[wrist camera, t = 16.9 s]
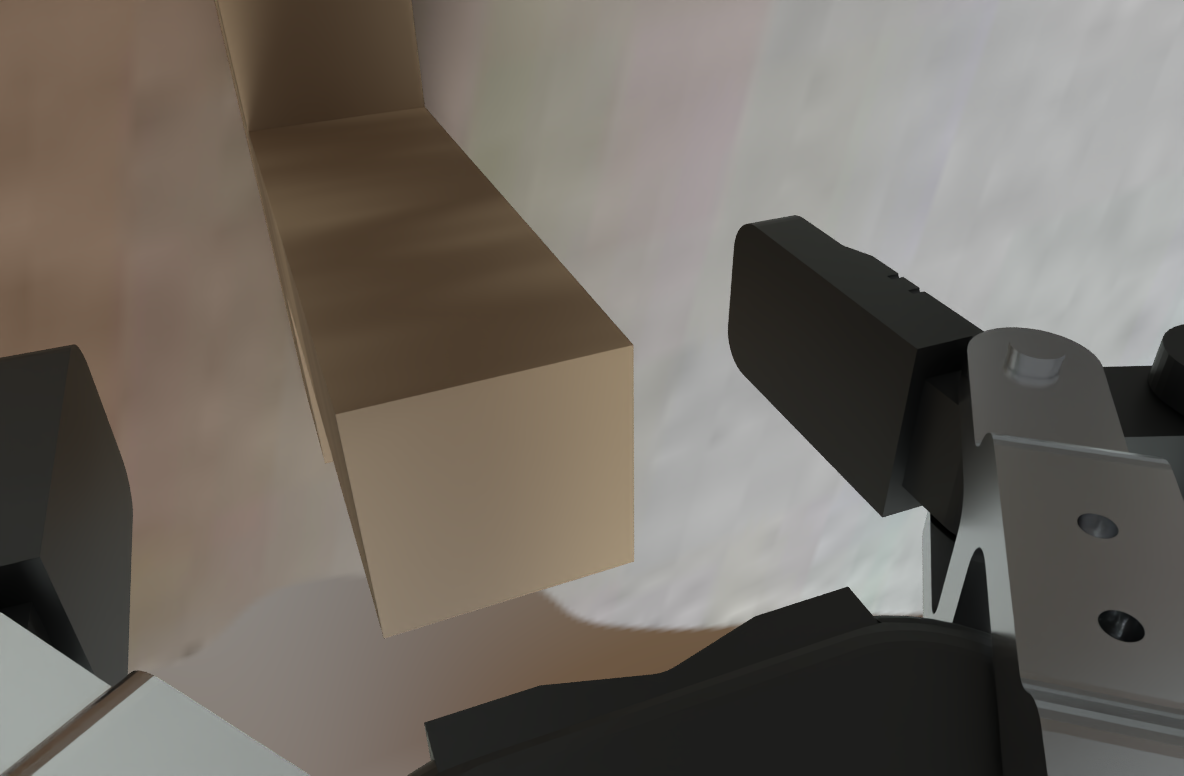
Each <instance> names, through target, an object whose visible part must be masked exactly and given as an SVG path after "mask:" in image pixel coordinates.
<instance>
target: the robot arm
mask: <svg viewBox="0 0 1184 776" xmlns="http://www.w3.org/2000/svg"><path fill="white" fill-rule="evenodd" d="M728 339H729V345H730V349H731V353H732V356H733V358H734V361H735V363H736V365H737V367H738V368H739V370H740V371H741V372H742V374H743V375H744V376H745V377H746V378H747V379H748V380H749V381H750V382H751V383H752V384H753V385H754V386H755V387H756V388H757V389H758V390H759V391H760V392H761V393H762V394H763V395H764V396H765V397H766V398H767V399H768V400H769V401H770V403H771V404H772V405H773V406H774V407H775V408H776V409H777V410H778V411H779V412H780V413H781V414H782V415H783V416H784V417H785V418H786V419H787V420H788V421H789V422H790V423H791V424H792V425H793V426H794V427H795V428H796V429H797V430H798V431H799V432H800V433H801V434H802V435H803V436H804V437H805V438H806V439H807V441H808V442H809V443H810V444H811V445H812V446H813V447H814V448H815V449H816V450H817V451H818V452H819V453H820V454H821V455H822V456H823V457H824V458H825V459H826V460H827V461H828V462H829V463H830V464H831V465H832V466H833V467H834V468H835V469H836V470H837V471H838V472H839V473H840V474H841V475H842V476H843V478H844V479H845V480H846V481H847V482H848V483H849V484H850V485H851V486H852V487H853V488H854V489H855V490H856V491H857V492H858V493H859V494H860V495H861V496H862V497H863V498H864V499H865V500H866V501H867V502H868V503H869V504H870V505H871V506H872V507H873V508H874V509H875V510H876V511H877V512H878V513H879V514H880V516H881V517H886V516H889V515H892V514H896V513H899V512H902V511H906V510H909V509H912V508H916V507H919V506H923V507H924V508H926V509H927V510H928V512H927V516H926V521H925V525H924V529H923V535H922V555H923V618H921V617H912V616H873V615H872V614H871V613H870V612H869V611H868V610H867V608H866V607H865V606H864V605H863V604H862V602H861V601H860V600H859V599H858V598H857V597H856V595H855V594H854V593H853V592H852V591H851V589H850V588H849V587H845V588H842V589H839V590H836V591H833V592H830V593H826V594H823V595H820V596H817V597H814V598H811V599H808V600H805V601H802V602H798V603H795V604H792V605H789V606H786V607H783V608H780V609H777V610H774V611H770V612H767V613H764V614H761V615H758V616H755V617H753V618H752V619H750V620H749V621H747V622H745V623H744V624H742V625H741V626H739V627H737V628H736V629H734V630H733V631H731V632H729V633H728V634H726V635H725V636H723V637H722V638H720V639H718V640H717V641H715V642H714V643H712V644H710V645H709V646H707V647H706V648H704V649H703V650H701V651H699V652H698V653H696V654H695V655H693V656H691V657H690V658H688V659H687V660H685V661H684V662H682V663H680V664H679V665H677V666H675V667H674V668H672V669H670V670H668V671H665V672H662V673H658V674H653V675H643V676H632V677H623V678H612V679H602V680H591V681H582V682H571V683H561V684H551V685H541V686H537V687H534V688H531V689H528V690H525V691H522V692H519V693H515V694H512V695H509V696H506V697H503V698H500V699H497V700H494V701H490V702H487V703H484V704H481V705H478V706H475V707H472V708H469V709H466V710H463V711H459V712H457V713H453V714H450V715H447V716H444V717H441V718H438V719H434V720H431V721H428V722H425V723H424V724H425V730H426V736H427V741H428V747H429V752H430V758H431V761H430V762H428V763H426V764H425V765H423V766H422V767H420V768H418V769H417V770H415V771H414V772H412V773H410V774H409V775H408V776H1184V324H1183V325H1179V326H1176V327H1174V328H1172V329H1169V330H1168V331H1167V332H1166V333H1165V334H1164V336H1163V339H1162V341H1161V344H1160V347H1159V349H1158V352H1157V355H1156V357H1155V360H1154V363H1153V365H1152V366H1123V367H1103V366H1102V364H1101V362H1100V361H1099V360H1098V358H1097V357H1096V356H1095V355H1094V354H1093V353H1092V352H1090V351H1089V350H1088V349H1086V348H1085V347H1083V346H1082V345H1080V344H1078V343H1076V342H1074V341H1072V340H1070V339H1067V338H1065V337H1062V336H1060V335H1056V334H1053V333H1050V332H1045V331H1041V330H1036V329H1029V328H1018V327H1006V328H996V329H992V330H987V331H985V332H984V331H982V330H981V329H979V328H978V327H976V326H975V325H974V324H972V323H971V322H969V321H968V320H966V319H965V318H963V317H962V316H960V315H959V314H957V313H956V312H954V311H953V310H951V309H950V308H948V307H947V306H945V305H944V304H942V303H941V302H940V301H938V300H937V299H935V298H934V297H932V296H931V295H929V294H928V293H926V292H920V291H919V287H917V286H916V285H914V284H913V283H911V282H910V281H908V280H907V279H906V278H904V277H902V278H899V276H898V273H897V272H895V271H894V270H892V269H891V268H889V267H888V266H886V265H885V264H883V263H882V262H880V261H879V260H877V259H876V258H874V257H873V256H871V255H868V254H865V253H862V252H859V251H857V250H854V249H851V248H848V247H845V246H843V245H841V244H840V243H838V242H837V241H835V240H834V239H833V238H831V237H830V236H828V235H827V234H825V233H824V232H822V231H821V230H820V229H818V228H817V227H815V226H814V225H812V224H811V223H809V222H808V221H806V220H805V219H804V218H802V217H800V216H796V215H794V216H788V217H783V218H777V219H771V220H766V221H760V222H755V223H749V224H745V225H743V226H742V227H741V228H740V229H739V231H738V233H737V235H736V239H735V244H734V255H733V269H732V282H731V295H730V308H729V322H728ZM132 521H133V508H132V498H131V492H130V486H129V481H128V477H127V473H126V469H125V466H124V463H123V460H122V457H121V454H120V451H119V449H118V446H117V443H116V440H115V438H114V435H113V432H112V430H111V427H110V424H109V421H108V419H107V416H106V413H105V411H104V408H103V405H102V402H101V400H100V397H99V394H98V392H97V389H96V386H95V384H94V381H93V378H92V375H91V373H90V370H89V367H88V365H87V362H86V360H85V358H84V356H83V354H82V352H81V350H80V349H79V347H78V346H76V345H69V346H63V347H58V348H52V349H46V350H41V351H35V352H30V353H24V354H19V355H13V356H8V357H2V358H0V776H310V775H309V774H307V773H306V772H304V771H302V770H301V769H299V768H298V767H296V766H295V765H293V764H292V763H290V762H289V761H287V760H285V759H284V758H282V757H281V756H279V755H278V754H276V753H275V752H273V751H271V750H270V749H268V748H267V747H265V746H264V745H262V744H261V743H259V742H257V741H256V740H254V739H253V738H251V737H250V736H248V735H246V734H245V733H243V732H242V731H240V730H239V729H237V728H236V727H234V726H232V725H231V724H229V723H228V722H226V721H225V720H223V719H222V718H220V717H219V716H217V715H215V714H214V713H212V712H211V711H209V710H207V709H206V708H205V707H203V706H201V705H200V704H198V703H197V702H195V701H194V700H192V699H190V698H189V697H187V696H186V695H184V694H183V693H181V692H179V691H178V690H176V689H175V688H173V687H172V686H170V685H169V684H167V683H166V682H164V681H162V680H161V679H159V678H157V677H156V676H154V675H151V674H149V673H147V672H143V671H133V672H131V673H129V674H128V645H129V614H130V583H131V552H132Z"/></svg>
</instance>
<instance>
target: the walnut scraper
mask: <svg viewBox="0 0 1184 776" xmlns="http://www.w3.org/2000/svg"><path fill="white" fill-rule="evenodd" d="M214 1H215V5H216V10H217V14H218V18H219V22H220V27H221V31H222V35H223V40H224V44H225V48H226V52H227V57H228V61H229V65H230V69H231V74H232V78H233V82H234V87H235V91H236V95H237V99H238V104H239V108H240V112H241V117H242V121H243V125H244V129H245V134H246V138H247V142H248V146H249V151H250V155H251V159H252V164H253V168H254V172H255V176H256V181H257V185H258V189H259V194H260V198H261V202H262V206H263V211H264V215H265V219H266V223H267V228H268V232H269V236H270V241H271V245H272V249H273V253H274V258H275V262H276V266H277V271H278V275H279V279H280V283H281V288H282V292H283V296H284V300H285V305H286V309H287V313H288V318H289V322H290V326H291V330H292V335H293V339H294V343H295V347H296V352H297V356H298V360H299V365H300V369H301V373H302V377H303V382H304V386H305V390H306V394H307V398H308V402H309V405H310V409H311V413H312V416H313V420H314V424H315V427H316V431H317V435H318V438H319V442H320V446H321V450H322V453H323V457H324V461H325V463H329V462H333V461H334V465H335V468H336V472H337V475H338V479H339V482H340V486H341V489H342V493H343V496H344V500H345V503H346V507H347V510H348V514H349V517H350V521H351V524H352V528H353V532H354V535H355V539H356V542H357V546H358V549H359V553H360V556H361V560H362V563H363V567H364V570H365V574H366V577H367V581H368V584H369V588H370V591H371V595H372V598H373V602H374V605H375V609H376V613H377V616H378V619H379V623H380V627H381V630H382V634H383V637H384V639H385V638H388V637H391V636H394V635H398V634H401V633H404V632H407V631H410V630H414V629H417V628H420V627H423V626H427V625H430V624H433V623H436V622H440V621H443V620H446V619H449V618H453V617H456V616H459V615H462V614H466V613H469V612H472V611H475V610H479V609H481V608H485V607H488V606H492V605H495V604H497V603H501V602H504V601H507V600H511V599H514V598H517V597H521V596H524V595H527V594H530V593H534V592H537V591H540V590H543V589H547V588H550V587H553V586H556V585H560V584H563V583H566V582H569V581H572V580H576V579H579V578H582V577H585V576H589V575H592V574H595V573H598V572H602V571H605V570H608V569H611V568H615V567H618V566H621V565H624V564H627V563H631V562H634V396H633V344H632V343H631V342H630V341H629V339H628V338H627V337H626V336H625V335H624V334H623V333H622V332H621V330H620V329H619V328H618V327H617V326H616V325H615V324H614V322H613V321H612V320H611V319H610V318H609V317H608V316H607V314H606V313H605V312H604V311H603V310H602V309H601V308H600V306H599V305H598V304H597V303H596V302H595V301H594V300H593V298H592V297H591V296H590V295H589V294H588V293H587V292H586V290H585V289H584V288H583V287H582V286H581V285H580V284H579V282H578V281H577V280H576V279H575V278H574V277H573V276H572V274H571V273H570V272H569V271H568V270H567V269H566V268H565V266H564V265H563V264H562V263H561V262H560V261H559V260H558V259H557V257H556V256H555V255H554V254H553V253H552V252H551V251H550V249H549V248H548V247H547V246H546V245H545V244H544V243H543V241H542V240H541V239H540V238H539V237H538V236H537V235H536V233H535V232H534V231H533V230H532V229H531V228H530V227H529V225H528V224H527V223H526V222H525V221H524V220H523V219H522V217H521V216H520V215H519V214H518V213H517V212H516V211H515V209H514V208H513V207H512V206H511V205H510V204H509V203H508V201H507V200H506V199H505V198H504V197H503V196H502V195H501V193H500V192H499V191H498V190H497V189H496V188H495V187H494V186H493V184H492V183H491V182H490V181H489V180H488V179H487V178H486V176H485V175H484V174H483V173H482V172H481V171H480V170H479V168H478V167H477V166H476V165H475V164H474V163H473V162H472V160H471V159H470V158H469V157H468V156H467V155H466V154H465V152H464V151H463V150H462V149H461V148H460V147H459V146H458V144H457V143H456V142H455V141H454V140H453V139H452V138H451V136H450V135H449V134H448V133H447V132H446V131H445V130H444V128H443V127H442V126H441V125H440V124H439V123H438V122H437V120H436V119H435V118H434V117H433V116H432V115H431V114H430V113H429V111H428V110H427V109H426V108H425V106H424V98H423V90H422V82H421V74H420V66H419V58H418V50H417V42H416V34H415V26H414V18H413V10H412V2H411V0H214Z"/></svg>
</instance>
